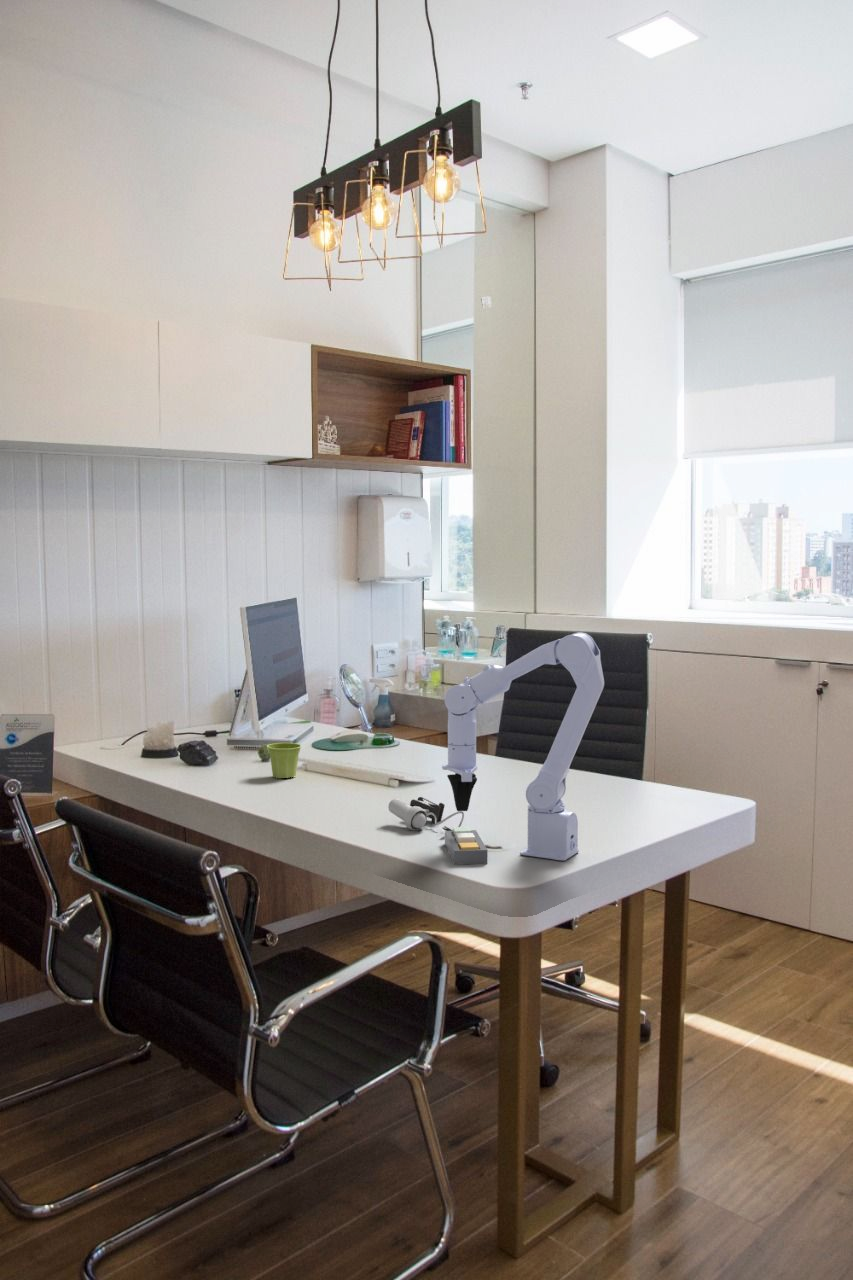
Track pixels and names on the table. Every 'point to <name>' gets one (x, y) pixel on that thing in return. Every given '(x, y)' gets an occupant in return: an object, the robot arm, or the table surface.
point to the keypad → (465, 855)
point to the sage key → (461, 830)
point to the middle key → (465, 837)
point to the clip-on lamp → (419, 812)
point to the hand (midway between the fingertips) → (462, 810)
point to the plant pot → (284, 759)
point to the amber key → (468, 846)
